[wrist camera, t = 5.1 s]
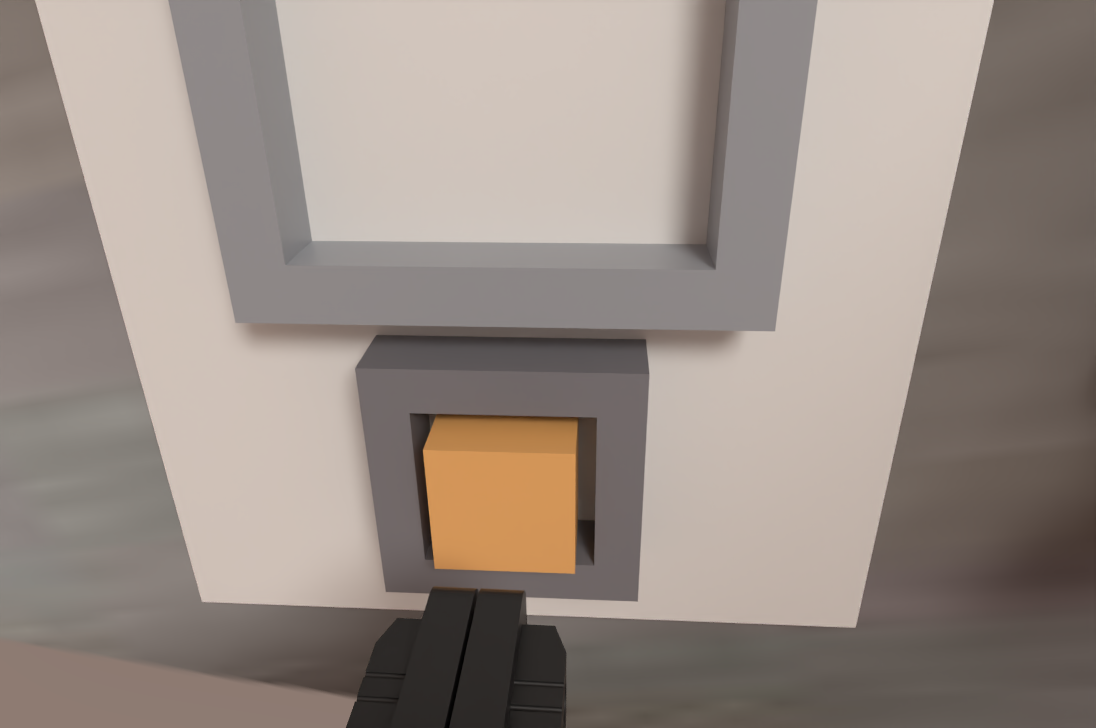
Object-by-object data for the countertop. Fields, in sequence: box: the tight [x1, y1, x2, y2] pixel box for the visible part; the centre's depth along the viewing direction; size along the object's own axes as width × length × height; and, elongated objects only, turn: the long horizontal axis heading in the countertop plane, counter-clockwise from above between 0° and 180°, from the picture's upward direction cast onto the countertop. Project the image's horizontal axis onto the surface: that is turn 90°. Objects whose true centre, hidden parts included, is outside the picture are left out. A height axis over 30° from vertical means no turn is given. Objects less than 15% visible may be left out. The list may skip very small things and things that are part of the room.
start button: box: [423, 414, 579, 574], centre depth 17 cm, size 3×3×2 cm
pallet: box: [35, 0, 994, 628], centre depth 15 cm, size 24×17×3 cm
